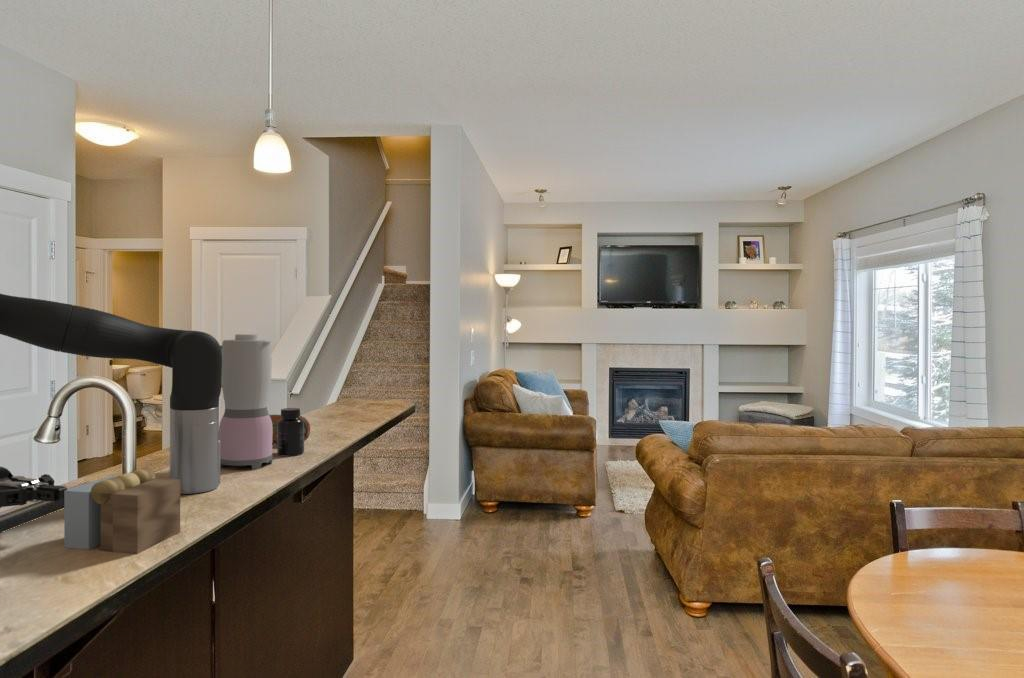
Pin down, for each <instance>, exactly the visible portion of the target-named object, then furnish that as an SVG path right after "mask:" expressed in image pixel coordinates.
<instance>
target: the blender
mask: <svg viewBox="0 0 1024 678" xmlns="http://www.w3.org/2000/svg"><path fill="white" fill-rule="evenodd" d="M220 347H221V351H222V380H221V391H222V398H223V400H224V412H223V415H222V418H221V419H220V420H219V440H220V442H221V457H220V468H223V465H226V466H240V467H241V466H251V470H253V469H254V470H258V469H257V468H260V469H261V468H262V464H263V463H268V464H269V465H271V464H270V463H272V464H273V454H274V453H273V444H272V435H273V427H272V420H271V418H270V416H269V415H270V414H269V411H268V401H269V396H270V391H271V385H272V343H271V341H270V340H269V339H259V334H255V333H253V334H252V333H251V334H250V333H242V334H241V333H240V334H237V333H236V334H235V335H234V339H223V340H222V345H220Z"/></svg>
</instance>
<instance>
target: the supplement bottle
mask: <svg viewBox="0 0 1024 678" xmlns="http://www.w3.org/2000/svg"><path fill="white" fill-rule="evenodd" d="M280 415H281V417H282V419H280V420H279V421H278V422H277V444H276V451H277V452H276V453H277V455H278V454H279V456H281V455H295V456H299V455H298V454H300V455H303V454H304V453H305V441H304V421H303V420H302V419H301V418H299V416H301V408H298V407H285V408H282V409H280Z"/></svg>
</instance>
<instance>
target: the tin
mask: <svg viewBox="0 0 1024 678" xmlns="http://www.w3.org/2000/svg"><path fill="white" fill-rule="evenodd" d="M269 416H270V418H271V420H272V427H273V435H272V443H277V422H278V421H279V420H280V419H282V417H281V414H269ZM299 418H301V419H302V420H303V421H304V442H305V441H307V440H308V438H309V436H310V433H311V424H310V422H309V421H308V420H307V418H306V417H304V416H302V415H300V416H299Z"/></svg>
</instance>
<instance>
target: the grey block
mask: <svg viewBox="0 0 1024 678" xmlns="http://www.w3.org/2000/svg"><path fill="white" fill-rule="evenodd" d="M114 477H116V478H119V479H121V480H122V481H123V483H124V485H125V489H128V488H131V487H134V486H137V485H139V484H140V480H139V478H138V476H137V475H136V474H134V473H129V472H125V473H123V474H120V475H118V474H117V475H116V474H113V475H110V476H106V477H103V478H100V479H97V480H93V481H90V482H88V483H85V484H81V485H77V486H75V487H72V488H67V490H65V491H64V500H63V501H64V503H63V504H64V510H63V511H64V515H63V516H64V518H63V520H64V521H63V522H64V523H63V524H64V529H63V530H64V536H63V537H64V548H66V549H75V550H76V549H77V550H91V549H93V548H95V547H97V546H99V545H100V546H101V504H98V503H96V502H95V501H94V500H93V499H92V497H91V488H92V486H93V485H94V484H96V483H98V482H101V481H104V480H107V479H110V478H114Z"/></svg>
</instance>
